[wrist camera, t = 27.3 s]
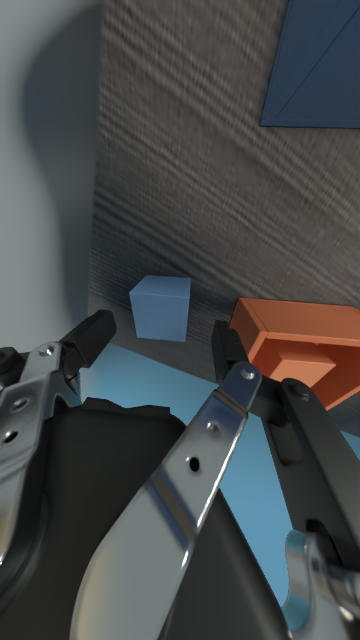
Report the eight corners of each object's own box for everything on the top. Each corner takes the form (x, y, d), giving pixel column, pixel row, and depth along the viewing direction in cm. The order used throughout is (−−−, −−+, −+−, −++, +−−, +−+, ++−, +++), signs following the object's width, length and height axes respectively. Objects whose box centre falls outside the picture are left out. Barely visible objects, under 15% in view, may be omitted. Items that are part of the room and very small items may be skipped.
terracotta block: (248, 354, 18) (262, 387, 14) (261, 327, 15) (282, 359, 12) (282, 357, 18) (306, 391, 14) (302, 331, 15) (337, 365, 11)
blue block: (150, 312, 16) (136, 337, 12) (146, 274, 13) (128, 292, 10) (187, 315, 16) (185, 342, 12) (190, 277, 13) (189, 297, 10)
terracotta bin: (216, 364, 20) (223, 403, 16) (238, 297, 14) (260, 331, 9) (292, 371, 20) (321, 414, 15) (351, 306, 14) (431, 346, 9)
